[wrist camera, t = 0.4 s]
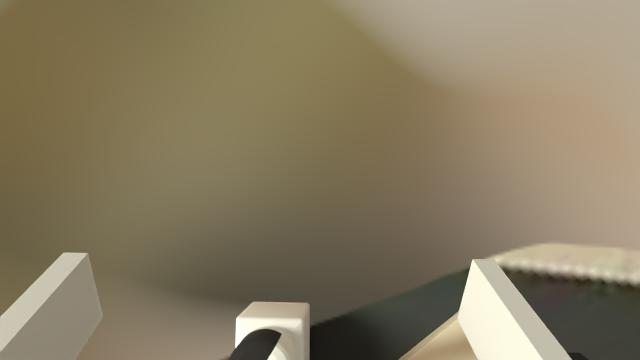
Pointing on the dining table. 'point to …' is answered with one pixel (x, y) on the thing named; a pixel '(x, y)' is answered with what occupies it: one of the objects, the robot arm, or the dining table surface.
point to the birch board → (443, 344)
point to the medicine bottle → (273, 332)
